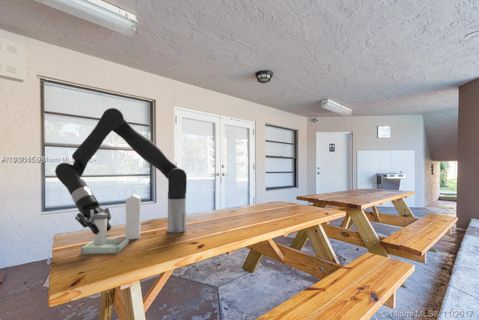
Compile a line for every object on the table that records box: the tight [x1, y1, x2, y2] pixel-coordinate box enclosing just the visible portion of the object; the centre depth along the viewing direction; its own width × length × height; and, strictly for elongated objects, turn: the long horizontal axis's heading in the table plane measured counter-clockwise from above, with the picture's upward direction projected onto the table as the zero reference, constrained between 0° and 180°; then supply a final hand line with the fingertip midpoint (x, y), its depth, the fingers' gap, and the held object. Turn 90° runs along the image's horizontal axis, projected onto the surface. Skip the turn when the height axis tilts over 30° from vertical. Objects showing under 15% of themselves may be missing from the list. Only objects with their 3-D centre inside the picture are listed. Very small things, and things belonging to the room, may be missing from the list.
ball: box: [115, 236, 123, 245], centre depth 105 cm, size 3×3×3 cm
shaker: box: [92, 213, 108, 246], centre depth 101 cm, size 5×5×12 cm
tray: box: [80, 237, 130, 256], centre depth 102 cm, size 14×12×2 cm
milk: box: [125, 191, 142, 240], centre depth 118 cm, size 6×6×22 cm
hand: (103, 231), depth 100 cm, fingers closed on shaker, 4 cm apart
